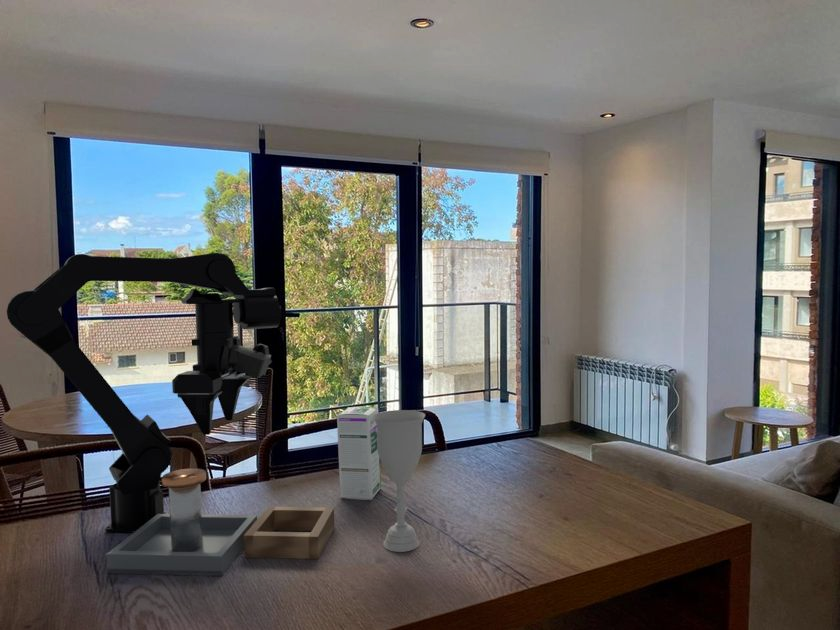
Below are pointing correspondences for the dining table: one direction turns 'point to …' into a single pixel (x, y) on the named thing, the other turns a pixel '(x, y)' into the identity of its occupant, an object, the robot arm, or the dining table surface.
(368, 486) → the syrup box
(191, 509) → the glass jar
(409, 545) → the chalice
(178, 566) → the tray
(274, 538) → the square wooden frame
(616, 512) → the dining table surface
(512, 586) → the dining table surface
